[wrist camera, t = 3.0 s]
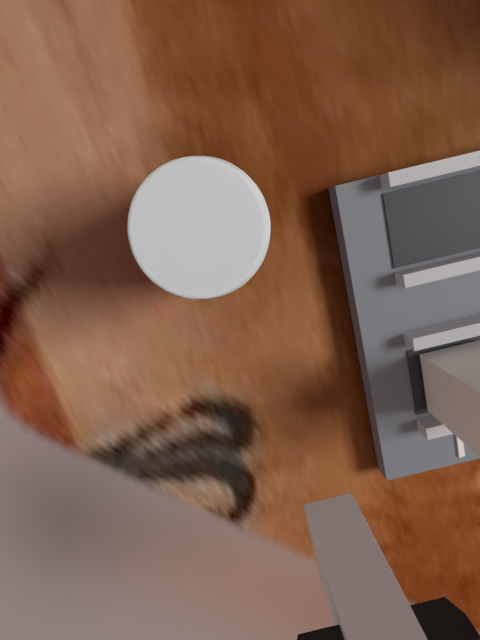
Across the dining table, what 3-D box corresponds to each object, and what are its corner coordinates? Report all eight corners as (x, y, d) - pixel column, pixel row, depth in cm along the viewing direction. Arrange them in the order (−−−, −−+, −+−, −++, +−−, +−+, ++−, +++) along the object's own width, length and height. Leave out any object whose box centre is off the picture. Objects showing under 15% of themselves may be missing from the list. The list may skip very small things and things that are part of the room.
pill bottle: (259, 274, 21) (286, 307, 13) (161, 283, 21) (124, 321, 12) (252, 172, 20) (277, 134, 11) (149, 179, 20) (100, 146, 11)
